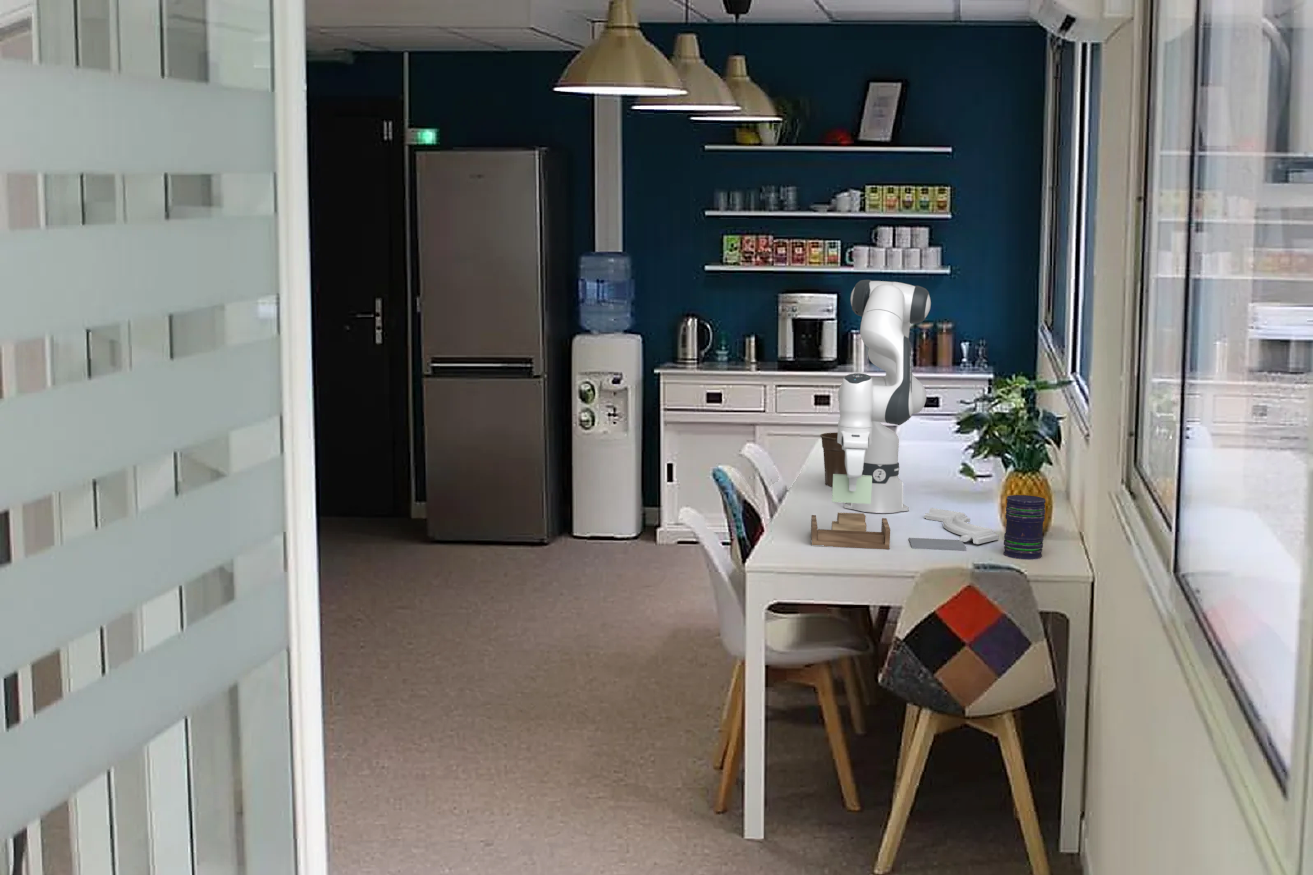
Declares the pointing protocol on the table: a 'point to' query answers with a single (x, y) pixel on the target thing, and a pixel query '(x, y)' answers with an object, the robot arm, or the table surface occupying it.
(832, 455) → the plant pot
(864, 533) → the rack
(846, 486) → the wide pale green sheet
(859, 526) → the offcut low
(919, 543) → the mat
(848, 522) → the offcut top
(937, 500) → the table surface
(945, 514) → the molding
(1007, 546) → the storage jar
